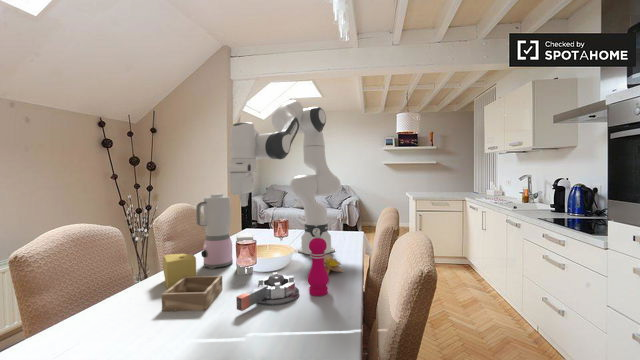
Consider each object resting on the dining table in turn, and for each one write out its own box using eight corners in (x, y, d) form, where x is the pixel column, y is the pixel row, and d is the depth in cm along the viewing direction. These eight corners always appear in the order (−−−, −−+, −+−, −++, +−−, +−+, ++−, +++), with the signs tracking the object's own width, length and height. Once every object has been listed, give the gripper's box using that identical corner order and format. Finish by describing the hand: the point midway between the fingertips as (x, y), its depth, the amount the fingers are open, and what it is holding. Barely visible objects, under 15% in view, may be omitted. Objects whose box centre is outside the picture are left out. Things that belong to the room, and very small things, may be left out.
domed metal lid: (258, 287, 102) (257, 270, 102) (300, 286, 102) (299, 269, 102) (248, 306, 87) (248, 286, 87) (297, 304, 87) (297, 285, 87)
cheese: (192, 275, 115) (191, 251, 115) (197, 283, 106) (197, 257, 106) (163, 281, 109) (162, 255, 109) (165, 290, 100) (165, 262, 100)
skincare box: (236, 270, 121) (235, 233, 121) (252, 268, 123) (251, 232, 123) (237, 276, 113) (236, 237, 113) (254, 274, 115) (253, 236, 115)
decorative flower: (344, 279, 109) (344, 253, 109) (315, 279, 109) (314, 253, 109) (342, 267, 124) (342, 243, 124) (316, 267, 124) (316, 244, 124)
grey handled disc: (274, 281, 103) (274, 270, 103) (301, 288, 97) (301, 275, 97) (225, 305, 84) (224, 291, 84) (254, 315, 78) (254, 300, 78)
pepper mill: (327, 297, 92) (326, 236, 92) (305, 296, 94) (304, 235, 94) (330, 289, 99) (329, 231, 99) (310, 287, 101) (309, 231, 101)
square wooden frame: (184, 290, 99) (184, 276, 99) (222, 290, 100) (222, 275, 100) (162, 311, 84) (161, 294, 84) (206, 310, 85) (206, 293, 85)
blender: (223, 260, 136) (222, 193, 136) (238, 265, 128) (237, 193, 128) (190, 268, 124) (189, 195, 124) (204, 274, 116) (203, 195, 116)
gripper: (241, 168, 112) (242, 203, 112) (226, 166, 92) (226, 209, 92) (258, 168, 112) (258, 203, 113) (245, 166, 92) (246, 209, 92)
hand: (244, 206), depth 102 cm, fingers closed
